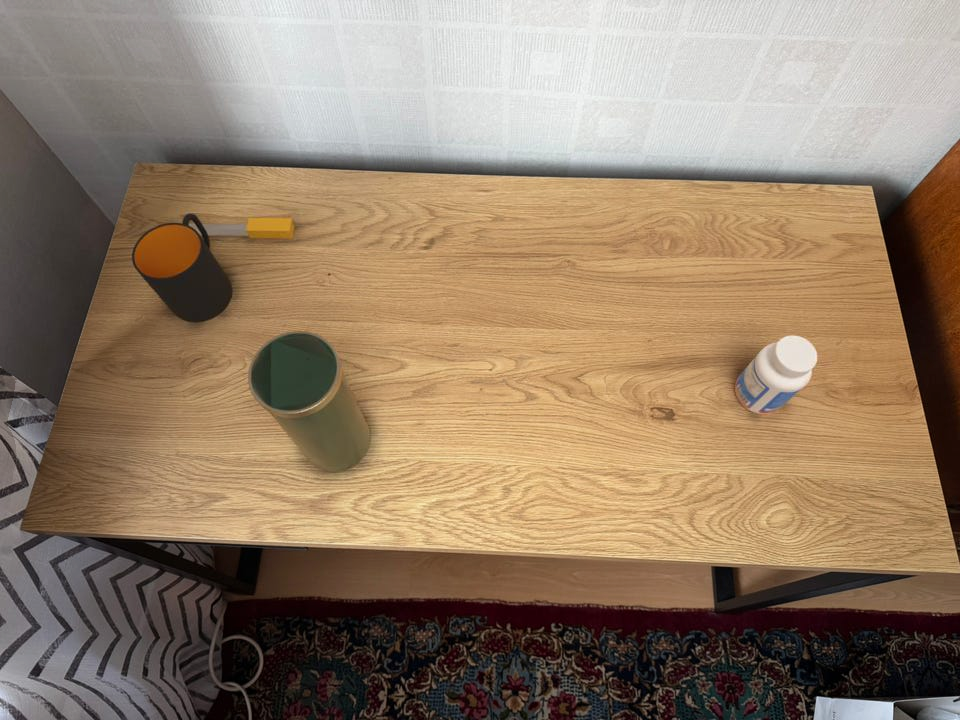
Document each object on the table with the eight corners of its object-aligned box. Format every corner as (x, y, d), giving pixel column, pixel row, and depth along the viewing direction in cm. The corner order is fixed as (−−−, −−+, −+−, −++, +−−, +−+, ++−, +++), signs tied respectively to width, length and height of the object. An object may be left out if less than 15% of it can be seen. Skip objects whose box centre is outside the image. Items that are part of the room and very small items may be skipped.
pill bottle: (787, 381, 80) (832, 341, 70) (776, 423, 77) (820, 387, 67) (739, 363, 81) (776, 321, 71) (727, 403, 78) (763, 365, 68)
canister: (340, 488, 73) (295, 431, 55) (287, 446, 76) (228, 379, 58) (386, 433, 76) (358, 362, 58) (335, 394, 79) (292, 315, 61)
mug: (245, 249, 88) (217, 200, 79) (224, 324, 83) (192, 281, 73) (186, 245, 88) (152, 196, 79) (162, 320, 83) (122, 277, 74)
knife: (294, 226, 90) (291, 218, 88) (292, 238, 89) (289, 230, 87) (168, 224, 90) (162, 216, 88) (164, 237, 89) (159, 229, 87)
